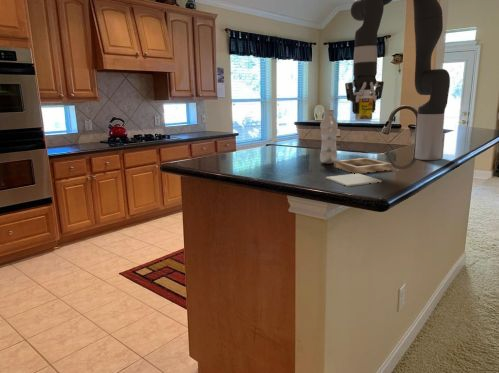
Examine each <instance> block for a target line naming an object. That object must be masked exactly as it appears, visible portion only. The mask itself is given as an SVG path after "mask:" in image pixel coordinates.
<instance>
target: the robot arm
mask: <svg viewBox="0 0 499 373" xmlns="http://www.w3.org/2000/svg"><path fill="white" fill-rule="evenodd" d="M392 1H393V0H354V1H353V2H352V5H351V8H350V15H351V17H352V18H353V20H356V21H357V22H362V25H361V26H360V27H359V28H357V29H356V30H355V33H354V51H353V68H352V71H353V74H352V75H353V80H352V81H351V82H349V81H348V82H345V83H344V86H345V95H346V100H347V101H348V102H351V103H352V104H351V105H352V106H351V107H352V110H351V111H352V113H353V115H354V114H358V113H359V103H358V101H359V99H360V96H362V93H363V91H364V90H371V94H370V95H371V96H373V106H372V114H373V113H375V111H376V104H377V103H376V102H377V101H378V100H381V98H382V94H383V89H384V83H385V81H383V80H380V81H379V80H377V79H376V78H377V77H376V76H377V73H378V72H377V71H378V33H379V32H378V31H379V29H380V25H381V22H382V18H383V14H384V11H385V10H384V7H385V6H386V5H388V4H390V3H391V2H392ZM412 4H413V28H414V29H413V30H414V40H415V41H414V42H415V61H414V63H415V65H414V66H415V67H414V86H415V87H414V88H415V90H416V92H417V94H419V95H420V96H429V100H428V101H426V102H425V103H424V104H421V105H419V106H418V109H417V119H416V120H417V121H416V134H415V135H416V136H415V150H414V151H415V152H414V159H416V160H421V161H422V160H423V161H438V160H441V159H444V147H445V137H446V136H445V135H446V134H445V133H444V124H445V111H446V108H447V106H448V105H447V104H448V98H449V93H450V85H451V76H450V74H449V71H448V70H446V69H445V68H437V69H436V68H435V69H434V68H433V69H432V56H433V52H434V51H435V48H436V45H437V43H438V42H439V40H440V38H441V36H442V33H443V31H444V30H443V28H444V25H443V24H444V22H443V20H444V19H443V10H442V7H441V4H440V3H439V1H438V0H412Z"/></svg>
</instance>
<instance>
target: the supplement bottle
mask: <svg viewBox="0 0 499 373" xmlns="http://www.w3.org/2000/svg"><path fill="white" fill-rule="evenodd" d="M370 94H371V90H364V91H363V93H362V96H360V99H359V101H358V103H359V113H358V114H355V115H354V116H355V117H354V119H355V121H356V122H357V121H358V122H367V121H368V122H370V121H372V119H373V113H372V106H373V96H371V95H370Z"/></svg>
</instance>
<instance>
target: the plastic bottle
mask: <svg viewBox="0 0 499 373" xmlns="http://www.w3.org/2000/svg"><path fill="white" fill-rule="evenodd" d="M323 116H324V117H323V119H322V120H321V122H320V124H319V125H320V126H319V127H320V135H321V148H320V149H321V150H320V154H319V160H320V162H321V163H323V164H327V165H331V164H334V161H338V152H337V133H338V127H339V126H338V124H339V123H338V122H337V119H336V117H335V109H325V110H323Z"/></svg>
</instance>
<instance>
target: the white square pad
mask: <svg viewBox="0 0 499 373" xmlns="http://www.w3.org/2000/svg"><path fill="white" fill-rule="evenodd" d="M325 179H326V180H329V181H332V182H334V183H336V184H339V185H342V186H344V185H345V186H344V187H353V186H362V185H370V184H369V183H371V184H376V183H377V182H379V183H382V182H383V181H382V180H381V179H378V178H375V177H371V176H368V175H365V174H363V173H362V174H359V173H356V174H354V173H349V174H347V173H346V174H340V175H332V176H326V177H325Z"/></svg>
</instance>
